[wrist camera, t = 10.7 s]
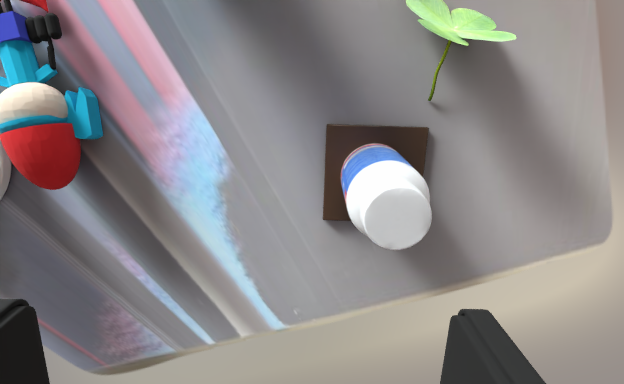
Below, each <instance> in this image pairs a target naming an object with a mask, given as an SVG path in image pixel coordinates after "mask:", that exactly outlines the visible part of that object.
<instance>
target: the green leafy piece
mask: <svg viewBox="0 0 624 384" xmlns="http://www.w3.org/2000/svg"><path fill="white" fill-rule="evenodd" d="M405 1H406V4H407V5H408V7H409V8H410V9H411V10H412V11H413V12H414V13H415V14H417V15H418V16H420V17H421V18H422V19H424V20H422V19H418V21H419V22H420V23H421V24H422V25H423V26H424V27H425V28H426V29H428V30H430V31H432V32H433V33H435V34H437V35H439V36H441V37H443V38H446V39H448V40H449V41H448V43H447V46H446V49H445V51H444V54H443V56H442V59H441V61H440V63H439V65H438V67H437V69H436V72H435V75H434V80H433V85H432V90H431V94H430V96H429V99H428V101H431V99H432V96H433V93H434V89H435V84H436V79H437V75H438V72H439V70H440V67H441V65H442V63H443V61H444V59H445V57H446V54H447V52H448V49H449V47H450V44H451V42H452V41H453V42H456V43H459V44H462V45H467V46H468V45H469V44H468V42H466V41H465V40H464V39H463V38H468V39H479V40H488V41H508V40H514V39H516V35H514V34H512V33H508V32H503V31H491V30H493V29H495V28H496V24H495V23H494V21H493V20H492V19H491V18H489V17H487V16H485V15H483V14H481V13H479V12H477V11H474V10H469V9H462V8H459V9H454V10H453V11H451V12H452V13H451V15H450V11H449V9H448V7H447V5H446V4H445V3H444V2H443V1H442V0H405ZM461 37H462V38H461Z"/></svg>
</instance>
